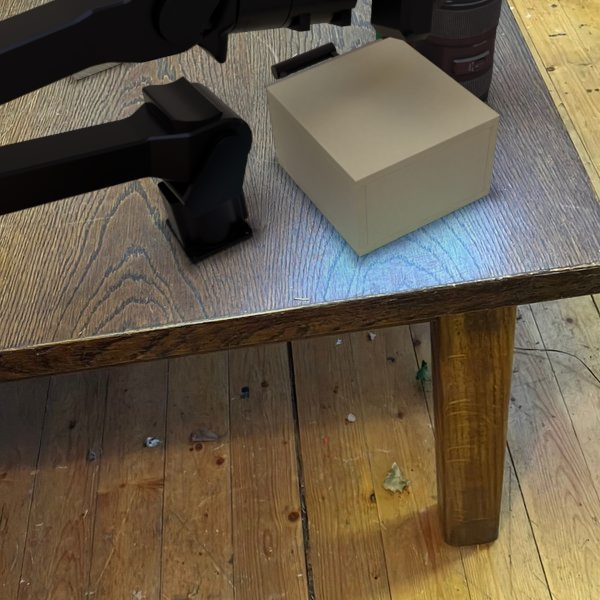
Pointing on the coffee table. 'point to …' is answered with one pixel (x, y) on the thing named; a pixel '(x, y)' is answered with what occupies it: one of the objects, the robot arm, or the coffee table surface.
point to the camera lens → (464, 42)
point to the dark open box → (307, 63)
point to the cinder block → (93, 70)
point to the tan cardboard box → (383, 142)
